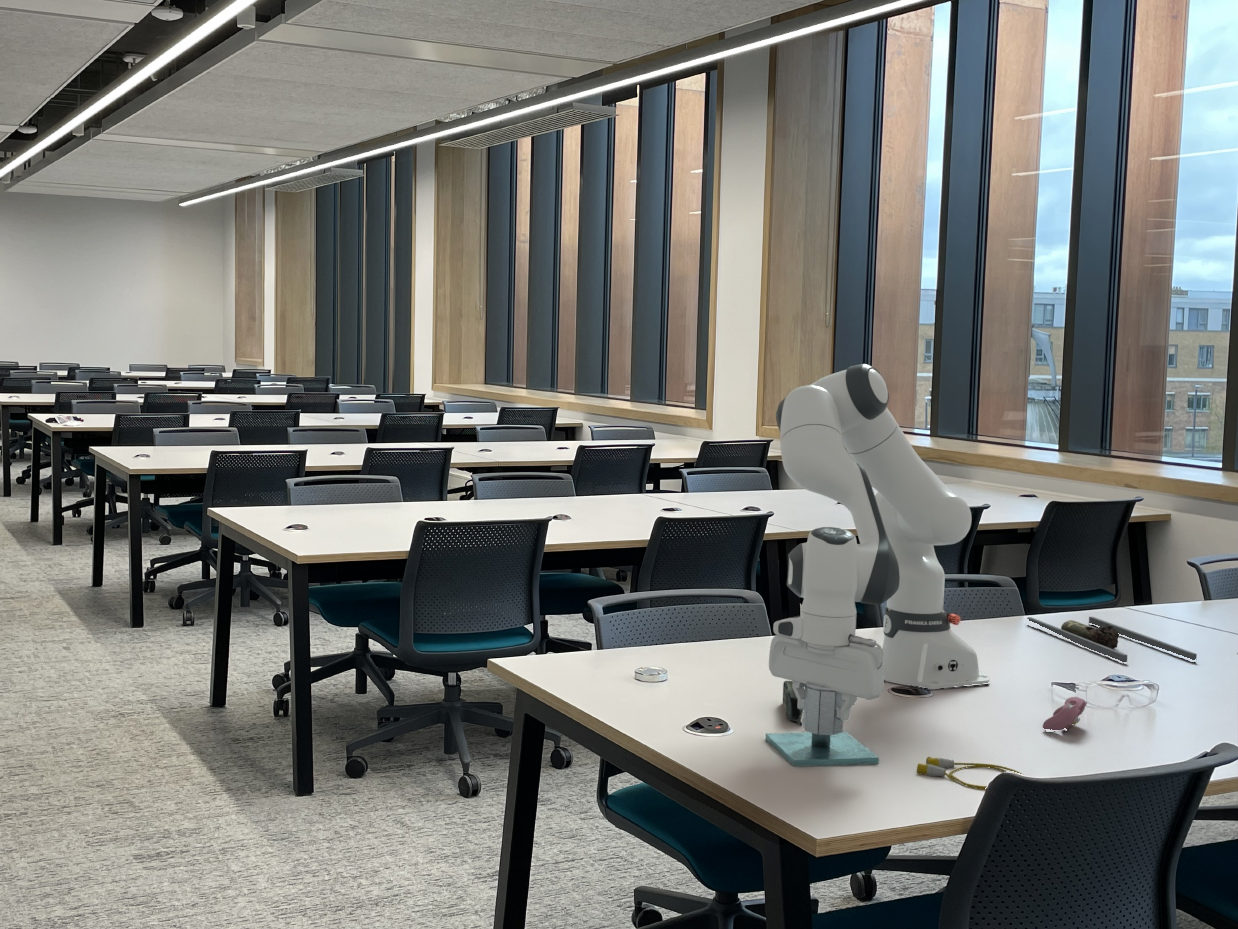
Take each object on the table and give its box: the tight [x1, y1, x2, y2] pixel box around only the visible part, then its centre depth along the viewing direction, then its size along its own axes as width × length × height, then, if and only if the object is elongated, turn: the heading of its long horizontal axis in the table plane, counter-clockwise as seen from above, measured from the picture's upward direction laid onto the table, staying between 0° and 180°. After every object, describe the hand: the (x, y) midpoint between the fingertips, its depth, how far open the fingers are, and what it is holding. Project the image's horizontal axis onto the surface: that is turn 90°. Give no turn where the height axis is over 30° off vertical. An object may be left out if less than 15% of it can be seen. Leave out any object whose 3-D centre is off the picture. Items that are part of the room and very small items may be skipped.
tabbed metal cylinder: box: [802, 682, 855, 735], centre depth 201 cm, size 10×6×8 cm, turn 136°
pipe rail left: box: [1026, 616, 1128, 663], centre depth 289 cm, size 1×40×2 cm, turn 11°
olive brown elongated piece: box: [1060, 619, 1120, 650], centre depth 287 cm, size 18×7×6 cm, turn 11°
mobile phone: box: [782, 680, 804, 727], centre depth 221 cm, size 5×3×15 cm
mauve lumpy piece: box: [1042, 695, 1088, 731], centre depth 218 cm, size 10×5×7 cm, turn 149°
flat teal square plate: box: [765, 730, 880, 767], centre depth 200 cm, size 14×14×6 cm
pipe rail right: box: [1088, 616, 1198, 660], centre depth 292 cm, size 1×40×2 cm, turn 11°
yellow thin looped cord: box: [916, 756, 1023, 791], centre depth 190 cm, size 12×16×2 cm
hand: (822, 714), depth 200 cm, fingers closed on tabbed metal cylinder, 6 cm apart
